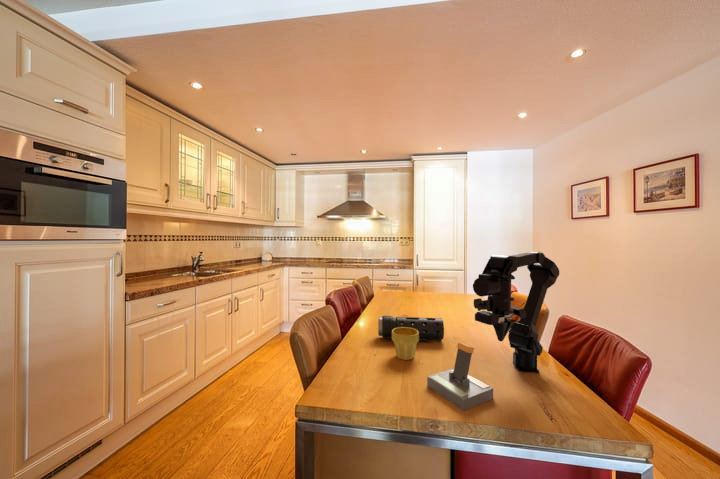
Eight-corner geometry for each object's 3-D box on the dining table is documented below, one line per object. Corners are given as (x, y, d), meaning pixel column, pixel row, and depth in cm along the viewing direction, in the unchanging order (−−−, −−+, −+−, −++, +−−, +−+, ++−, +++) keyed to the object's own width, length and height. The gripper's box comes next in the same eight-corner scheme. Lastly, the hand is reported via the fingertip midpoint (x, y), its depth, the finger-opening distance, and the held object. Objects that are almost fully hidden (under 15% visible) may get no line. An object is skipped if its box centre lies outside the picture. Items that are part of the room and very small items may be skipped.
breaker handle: (456, 378, 86) (463, 343, 87) (467, 384, 82) (474, 347, 83) (451, 377, 85) (458, 342, 86) (461, 384, 81) (468, 347, 82)
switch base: (455, 376, 93) (455, 361, 92) (493, 398, 80) (493, 381, 80) (427, 385, 87) (427, 369, 87) (463, 410, 75) (463, 392, 74)
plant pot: (385, 356, 108) (386, 330, 108) (402, 348, 116) (402, 324, 115) (408, 365, 101) (408, 337, 101) (424, 356, 108) (424, 331, 108)
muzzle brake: (444, 345, 119) (444, 321, 119) (378, 342, 122) (378, 318, 122) (440, 337, 129) (440, 315, 129) (378, 334, 132) (378, 312, 132)
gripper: (497, 287, 104) (496, 329, 104) (461, 291, 95) (460, 337, 95) (527, 292, 94) (526, 339, 94) (490, 298, 85) (490, 349, 85)
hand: (500, 340), depth 92 cm, fingers closed
